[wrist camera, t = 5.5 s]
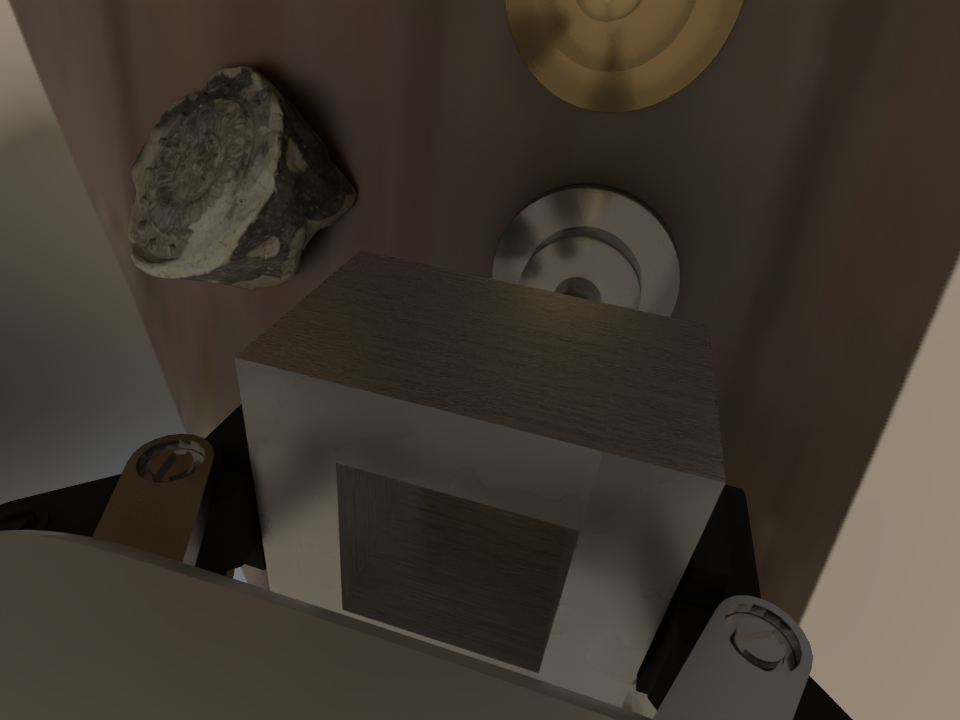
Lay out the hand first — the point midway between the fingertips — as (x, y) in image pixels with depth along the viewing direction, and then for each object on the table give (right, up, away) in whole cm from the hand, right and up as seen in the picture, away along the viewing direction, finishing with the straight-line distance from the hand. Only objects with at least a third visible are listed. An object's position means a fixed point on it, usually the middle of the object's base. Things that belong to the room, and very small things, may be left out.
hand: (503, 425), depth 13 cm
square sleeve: (0, 0, 0) cm, 0 cm away
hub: (+5, +16, +11) cm, 20 cm away
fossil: (-12, +12, +19) cm, 25 cm away
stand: (+5, +6, +17) cm, 19 cm away
